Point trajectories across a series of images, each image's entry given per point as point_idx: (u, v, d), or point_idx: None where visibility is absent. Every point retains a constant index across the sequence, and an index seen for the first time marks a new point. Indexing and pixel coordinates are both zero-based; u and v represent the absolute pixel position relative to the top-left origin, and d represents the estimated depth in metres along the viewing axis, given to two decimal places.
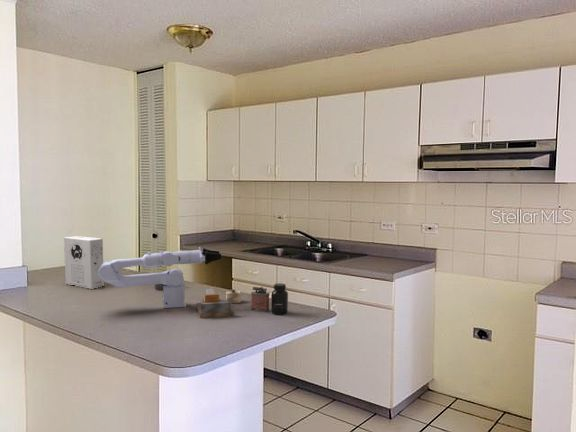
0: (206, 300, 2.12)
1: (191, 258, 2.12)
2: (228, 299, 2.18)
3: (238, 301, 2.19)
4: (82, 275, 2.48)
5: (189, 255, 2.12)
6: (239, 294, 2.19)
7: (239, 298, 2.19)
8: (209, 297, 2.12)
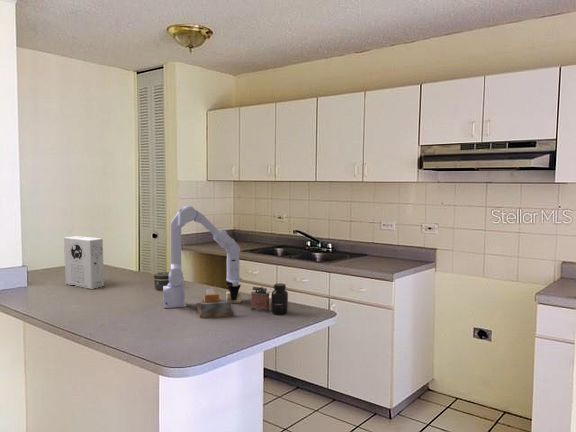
0: (206, 300, 2.12)
1: (233, 271, 2.17)
2: (228, 299, 2.18)
3: (238, 301, 2.19)
4: (82, 275, 2.48)
5: (236, 269, 2.17)
6: (239, 294, 2.19)
7: (239, 298, 2.19)
8: (209, 297, 2.12)
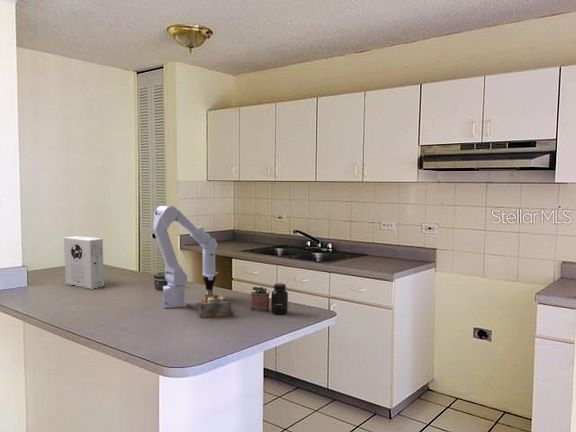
0: (206, 300, 2.11)
1: (209, 266, 2.21)
2: None
3: None
4: (82, 275, 2.48)
5: (212, 264, 2.21)
6: (222, 300, 2.02)
7: None
8: None
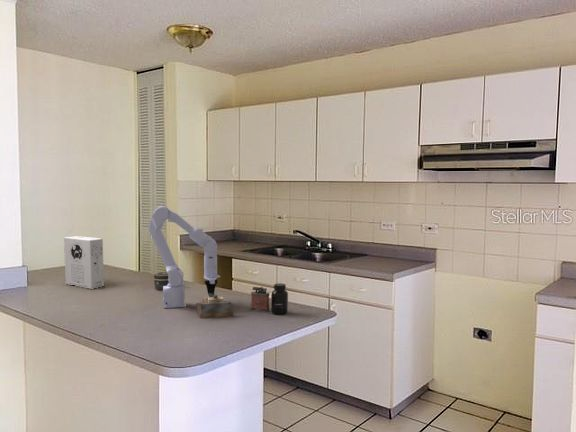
0: None
1: (210, 269, 2.13)
2: None
3: None
4: (82, 275, 2.48)
5: (213, 267, 2.14)
6: (222, 300, 2.02)
7: None
8: None
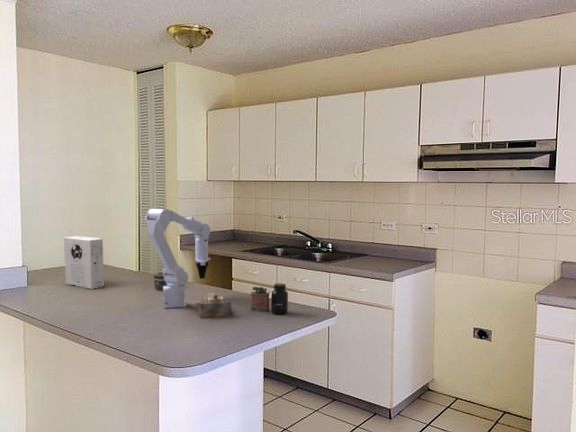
0: None
1: (201, 251, 2.23)
2: None
3: None
4: (82, 275, 2.48)
5: (204, 249, 2.23)
6: (222, 300, 2.02)
7: None
8: None
